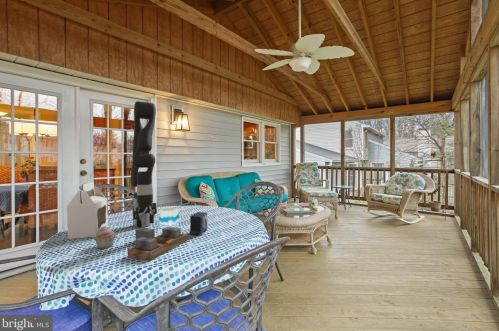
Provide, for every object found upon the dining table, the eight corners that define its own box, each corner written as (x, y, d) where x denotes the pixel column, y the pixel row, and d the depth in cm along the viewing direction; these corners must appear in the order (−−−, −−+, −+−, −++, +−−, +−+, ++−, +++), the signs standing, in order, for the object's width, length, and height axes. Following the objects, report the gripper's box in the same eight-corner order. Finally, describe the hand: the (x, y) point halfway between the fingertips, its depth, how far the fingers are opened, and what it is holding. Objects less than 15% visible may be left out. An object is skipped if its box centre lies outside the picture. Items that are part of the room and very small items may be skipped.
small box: (201, 235, 142) (200, 216, 142) (189, 235, 144) (189, 215, 143) (207, 230, 153) (207, 212, 152) (197, 229, 154) (197, 211, 154)
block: (135, 241, 133) (135, 229, 133) (142, 238, 137) (142, 227, 137) (148, 243, 130) (148, 231, 130) (154, 240, 135) (154, 229, 134)
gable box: (83, 227, 158) (82, 180, 157) (108, 226, 161) (106, 180, 160) (67, 239, 136) (65, 185, 135) (95, 237, 140) (94, 184, 138)
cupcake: (114, 248, 123) (113, 227, 122) (91, 251, 120) (91, 229, 120) (118, 242, 132) (117, 222, 131) (97, 244, 129) (96, 224, 129)
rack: (127, 257, 113) (127, 241, 113) (167, 238, 138) (167, 225, 138) (150, 261, 109) (150, 244, 108) (187, 241, 134) (187, 227, 133)
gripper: (148, 191, 141) (149, 221, 141) (128, 195, 127) (128, 228, 128) (160, 191, 138) (161, 222, 139) (140, 195, 125) (141, 229, 125)
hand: (145, 225), depth 133 cm, fingers open, 8 cm apart
